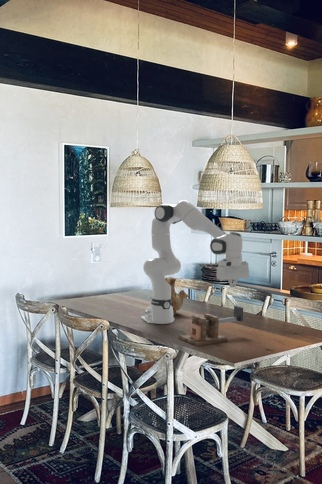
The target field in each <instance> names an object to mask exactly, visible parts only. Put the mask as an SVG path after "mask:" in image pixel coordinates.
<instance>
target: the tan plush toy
mask: <svg viewBox="0 0 322 484" xmlns="http://www.w3.org/2000/svg"><path fill="white" fill-rule="evenodd" d="M165 280H166V282H167V283H169V284H170V285H171V299H172V304H171V306H172V307H173V316H176V315H177V311H179V310H181V308H182V307H183V304H184V299H187V298H189V297H190V294H188V293H186V292H185V290H184V289H181V290H179V292H178V293H177V292H176V289H175V285H176V280H177V278H175V277H171V276H167V277H166V276H165Z"/></svg>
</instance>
